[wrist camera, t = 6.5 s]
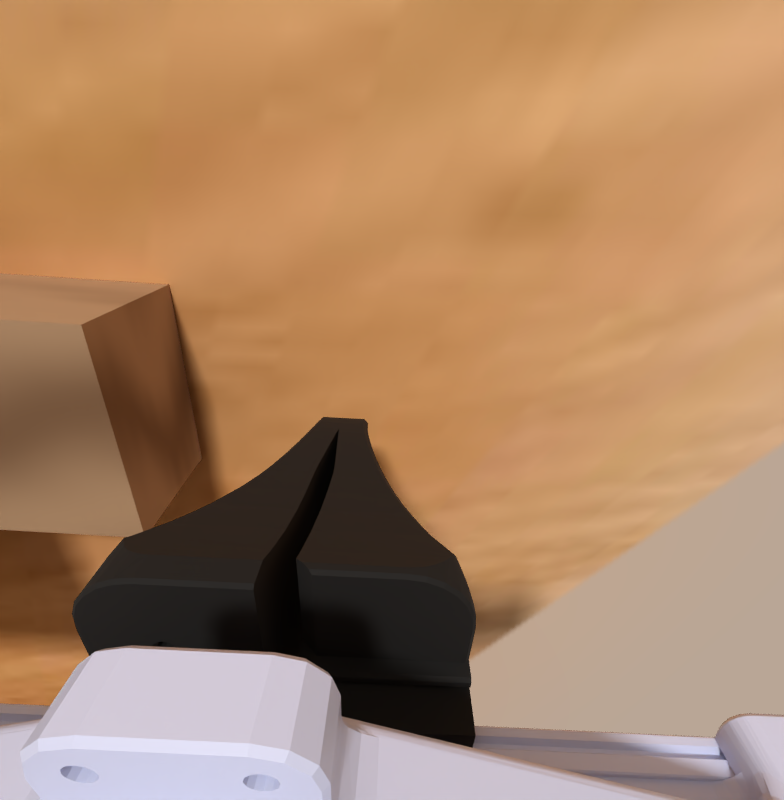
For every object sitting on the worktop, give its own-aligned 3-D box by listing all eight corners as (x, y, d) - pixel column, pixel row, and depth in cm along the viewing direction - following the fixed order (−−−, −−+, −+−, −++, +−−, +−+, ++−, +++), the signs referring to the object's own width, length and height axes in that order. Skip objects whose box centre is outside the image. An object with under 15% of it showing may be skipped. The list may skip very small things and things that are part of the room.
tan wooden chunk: (204, 454, 17) (145, 537, 13) (-29, 440, 17) (-160, 520, 13) (172, 282, 14) (81, 325, 10) (-117, 263, 14) (-327, 298, 10)
